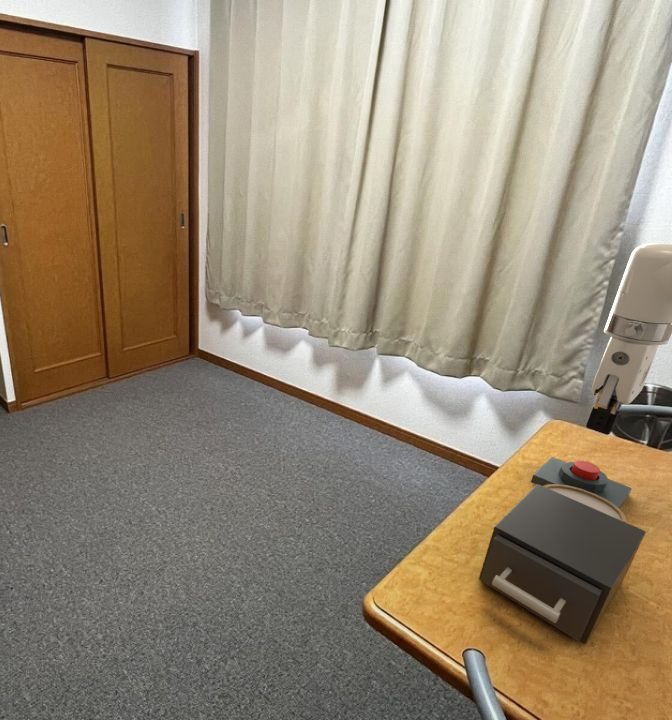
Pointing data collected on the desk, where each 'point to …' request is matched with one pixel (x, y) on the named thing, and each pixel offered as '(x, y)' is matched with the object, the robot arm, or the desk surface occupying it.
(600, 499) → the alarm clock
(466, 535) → the desk surface
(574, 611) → the drawer
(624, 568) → the cabinet
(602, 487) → the panel
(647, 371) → the robot arm
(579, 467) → the button
